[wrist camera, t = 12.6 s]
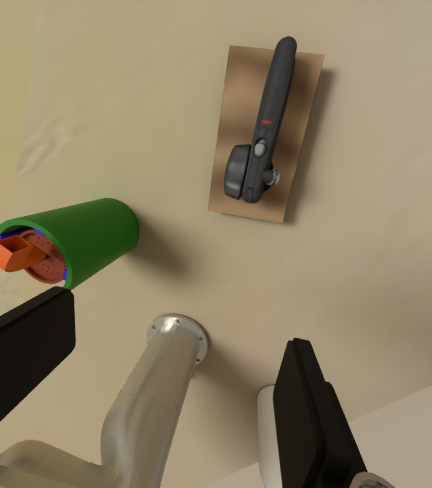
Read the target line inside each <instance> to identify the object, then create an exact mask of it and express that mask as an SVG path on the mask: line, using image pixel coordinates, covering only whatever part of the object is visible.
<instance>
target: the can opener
mask: <svg viewBox="0 0 432 488" xmlns="http://www.w3.org/2000/svg"><path fill="white" fill-rule="evenodd" d="M296 49H297V43H296V41H295V39H294V38H292V37H290V36H288V37H285V38H283V39H281V40H280V41H279V43H278V44H277V46H276V49H275V52H274V55H273V58H272V62H271V65H270V68H269V72H268V75H267V79H266V83H265V87H264V90H263V94H262V98H261V103H260V107H259V112H258V116H257V121H256V125H255V131H254V135H253V140H252V145H251V144H244V145H235V146H234V147H233V149H232V151H231V154H230V156H229V159H228V162H227V165H226V170H225V176H224V193H225V195H227V196H229V197H231V198H233V199H236V200H239V199H240V197H241V196H242V199H243V200H244V201H245V202H247V203H250V204H252V203H253V204H254V203H257V202H259V201H260V198H261V197H262V194H263V193H264V192H265V191H267V190H268V189H269V188H270V187H271V186H275V185H276V184H277V183H278V181H279V180H280V171H279V170H277V169H274V167H273V164H272V157H273V153H274V148H275V145H276V141H277V137H278V134H279V130H280V127H281V123H282V120H283V116H284V112H285V108H286V105H287V101H288V96H289V92H290V88H291V83H292V78H293V73H294V67H295V54H296Z"/></svg>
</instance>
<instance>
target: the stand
mask: <svg viewBox="0 0 432 488" xmlns="http://www.w3.org/2000/svg"><path fill="white" fill-rule="evenodd" d="M274 52H275V50H271V49H261V48H251V47H241V46H231V45H230V47H229V54H228V62H227V69H226V77H225V84H224V92H223V99H222V107H221V114H220V122H219V129H218V137H217V144H216V151H215V159H214V166H213V174H212V181H211V189H210V196H209V204H208V211H214V212H220V213H225V214H231V215H237V216H242V217H248V218H253V219H259V220H265V221H270V222H276V223H282V222H283V218H284V214H285V210H286V206H287V202H288V198H289V194H290V190H291V186H292V182H293V178H294V174H295V170H296V166H297V162H298V158H299V154H300V150H301V147H302V143H303V139H304V135H305V131H306V127H307V123H308V119H309V115H310V111H311V107H312V103H313V99H314V95H315V91H316V87H317V83H318V79H319V75H320V71H321V67H322V63H323V59H324V55H320V54H311V53H301V52H296V54H295V67H294V73H293V78H292V83H291V88H290V92H289V96H288V101H287V105H286V108H285V112H284V116H283V120H282V123H281V127H280V130H279V134H278V137H277V141H276V145H275V148H274V153H273V157H272V164H273V167H274V169H277V170H279V171H280V180H279V181H278V183H277V184H276V185H275V186H271V187H270V188H269V189H268V190H267V191H265V192H264V193H263V194H262V197H261V198H260V201H259V202H257V203H254V204H253V203H252V204H250V203H247V202H245V201H244V200H243V199H242V196H241V197H240V199H239V200H236V199H233V198H231V197H229V196H227V195H225V193H224V176H225V170H226V165H227V162H228V159H229V156H230V154H231V151H232V149H233V147H234V146H235V145H244V144H251V145H252V140H253V135H254V131H255V125H256V121H257V116H258V112H259V107H260V103H261V98H262V94H263V90H264V87H265V83H266V79H267V75H268V72H269V68H270V65H271V62H272V58H273V55H274Z"/></svg>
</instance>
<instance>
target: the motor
mask: <svg viewBox="0 0 432 488" xmlns="http://www.w3.org/2000/svg"><path fill="white" fill-rule="evenodd" d="M138 236H139V227H138V222H137V220H136V218H135V216H134V214H133V212H132V211H131V210H130V209H129V208H128V207H127V206H126V205H125V204H123V203H122V202H120V201H118V200H115V199H111V198H103V199H99V200H94V201H90V202H86V203H81V204H77V205H72V206H68V207H64V208H59V209H55V210H50V211H46V212H42V213H37V214H33V215H28V216H24V217H20V218H15V219H11V220H7V221H5V222H3V223H2V224H0V268H2V269H3V270H5V271H6V272H14V271H18V270H22V269H24V270H25V271H26V272H27V273H28V274H29V275H30V276H32V277H33V278H35V279H36V280H38V281H40V282H43V283H48V284H54V283H58V282H60V281H62V280H66V282H65V285H64V286H63V288H67V289H70V290H72V289H74V288H75V287H76V286H78V285H79V284H81V283H82V282H84V281H85V280H87V279H88V278H90V277H91V276H93V275H94V274H95V273H97V272H98V271H100V270H101V269H103V268H104V267H106V266H107V265H109V264H110V263H112V262H113V261H114V260H116V259H117V258H119V257H120V256H122V255H123V254H125V253H126V252H128V251H129V250H130V249H132V248H133V247H134V246H135V244H136V242H137V240H138Z"/></svg>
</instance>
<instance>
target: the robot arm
mask: <svg viewBox="0 0 432 488" xmlns="http://www.w3.org/2000/svg"><path fill="white" fill-rule="evenodd" d="M75 344H76V338H75V312H74V295H73V293H71V290H70V289H67V288H63V287H58V286H55V287H52V288H50V289H49V290H47V291H45V292H43V293H41V294H39V295H38V296H36V297H34V298H32V299H30V300H29V301H27V302H25V303H23V304H21V305H19V306H18V307H16V308H14V309H12V310H10V311H8V312H7V313H5V314H3V315H1V316H0V421H1V420H2V419H3V418H4V417H5V416H6V415H8V414H9V413H10V412H11V411H12V410H13V409H14V408H15V407H16V406H17V405H18V404H19V403H20V402H21V401H22V400H23V399H24V398H25V397H26V396H27V395H28V394H29V393H30V392H31V391H32V390H33V389H34V388H35V387H36V386H37V385H38V384H39V383H40V382H41V381H42V380H43V379H44V378H45V377H47V376H48V375H49V374H50V373H51V372H52V371H53V370H54V369H55V368H56V367H57V366H58V365H59V364H60V363H61V362H62V361H63V360H64V359H65V358H66V357H67V356H68V355H69V354H70V353H71V352H72V351H73V349H74V347H75ZM147 344H148V346H147V347H146V349H145V351H144V352H143V354H142V356H141V357H140V359H139V361H138V362H137V364H136V366H135V367H134V369H133V371H132V372H131V374H130V376H129V377H128V379H127V381H126V383H125V384H124V386H123V388H122V389H121V391H120V393H119V394H118V396H117V398H116V399H115V401H114V403H113V404H112V406H111V408H110V409H109V411H108V413H107V415H106V418H105V420H104V423H103V427H102V432H101V461H102V465H97V464H94V463H92V462H90V463H89V462H87V461H85V460H83V459H80V458H78V457H76V456H74V455H72V454H70V453H67V452H65V451H63V450H61V449H59V448H56V447H54V446H52V445H49V444H47V443H44V442H41V441H38V440H25V441H21V442H18V443H16V444H14V445H12V446H11V447H9V448H8V449H6V450H5V451H4V452H2V453H1V454H0V488H160V485H161V481H162V477H163V473H164V469H165V465H166V461H167V457H168V454H169V450H170V447H171V443H172V440H173V437H174V433H175V429H176V426H177V423H178V419H179V416H180V413H181V409H182V406H183V403H184V399H185V396H186V393H187V389H188V386H189V383H190V379H191V376H192V372H193V369H194V366H195V365H197V364H199V363H200V362H201V361H202V360H203V359H204V358H205V356H206V353H207V349H208V339H207V336H206V334H205V332H204V330H203V329H202V328H201V327H200V326H199V325H198V324H197V323H196V322H195V321H193V320H192V319H190V318H187V317H185V316H182V315H176V314H168V315H164V316H161V317H159V318H157V319H156V320H155V321H154V322H153V323H152V324H151V326H150V327H149V329H148V332H147ZM273 407H274V416H275V425H276V435H277V444H278V453H279V462H280V471H281V480H282V488H395V487H394V486H393V485H391V484H390V483H389V482H387V481H386V480H385V479H383V478H381V477H380V476H378V475H375V474H373V473H368V471H367V469H366V467H365V464H364V462H363V459H362V457H361V454H360V452H359V449H358V447H357V444H356V442H355V440H354V437H353V435H352V432H351V430H350V427H349V425H348V422H347V420H346V418H345V415H344V413H343V410H342V408H341V405H340V403H339V400H338V398H337V395H336V393H335V391H334V388H333V386H332V385H331V384H330V383H329V382H326V381H325V379H324V377H323V374H322V372H321V369H320V366H319V364H318V361H317V358H316V356H315V353H314V351H313V348H312V345H311V343H310V341H308V340H304V339H299V338H294V339H293V341H290V340H289V341H288V343H287V346H286V350H285V353H284V356H283V360H282V363H281V367H280V370H279V373H278V377H277V380H276V384H275V387H274V391H273Z"/></svg>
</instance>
